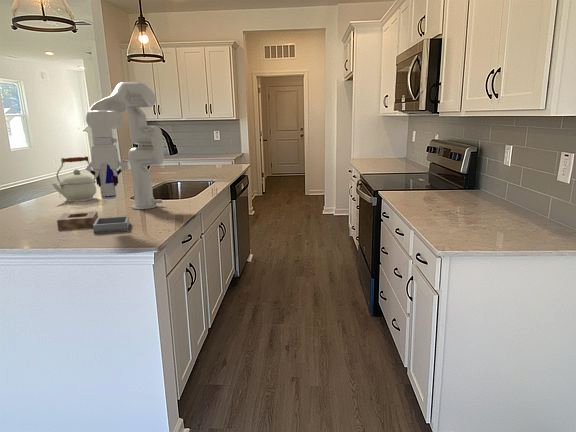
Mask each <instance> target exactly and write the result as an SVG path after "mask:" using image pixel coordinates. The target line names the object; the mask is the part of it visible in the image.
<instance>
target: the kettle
mask: <svg viewBox="0 0 576 432" xmlns="http://www.w3.org/2000/svg"><path fill="white" fill-rule="evenodd" d="M60 161H61V162H60V163H61V166H60V167H59V168H58V170H57V172H56V174H55V177H56V179H57V181H58V182H59V184H57V183H52V184H51V185H52V186H53V188H54V189H55V190H56V192H58V193H59V194H61V195H62V196H63V197H64V198H65V200H66V201H67V202H69V203H70V202H71V203H79V202H80V201H82V202H88V201H92V200H94V196H95V195H96V193H97V187H96V183H97V182H96V177H95V176H94V175H93V178H92V176H90V175H89V174H86V173H81V171H80V170H79V169H74V170H73V171H72V174H69V175H66V176H64V177H63V179H62V181H60V178H59V173H60V171H61V169H62V168H63V167H64V164H65V163H76V162H85V161H86V162H87V164H88V165H89V164H90V161H89V156H83V157H81V156H78V157H76V156H75V157H67V158H63V157H62V158H60ZM92 170H93V171H95V172H96V170H94V169H93V168H92Z"/></svg>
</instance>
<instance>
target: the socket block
mask: <svg viewBox="0 0 576 432" xmlns="http://www.w3.org/2000/svg"><path fill="white" fill-rule="evenodd" d="M97 218H99V215H98V210H93V211H77V212H76V211H75V212H64V213H62V215H60V217H58V218H57V219H56V223H57V224H56V225H57V230H65V229H66V230H67V229H78V228H80V229H81V227H82V228H93V224H94V223H95V221H96V219H97Z"/></svg>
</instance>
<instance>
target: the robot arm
mask: <svg viewBox="0 0 576 432" xmlns="http://www.w3.org/2000/svg"><path fill="white" fill-rule="evenodd" d="M155 104H156V95H155V93H154V91H153V90H152V89H151V88H150V87H149V86H148V85H147V84H146V83H144V82H141V81H122V82H119V83H117V84H116V85H115V86H114V89H113V90H112V92H111V93H110V95H109V96H107V97H104V98H102V99H100V100H98V101H96V102H95V103H93V104H91V106H90V108H89V109H88V111H87V113H86V116H85V121H86V124H87V126H88V127H89V128H90V129H91V135H92V145H91V150H90V156H91V157H90V159H91V160H90V162H89V164H88V165H87V167H85V171H88V172H89V173H90V174H91V175H92V176H93V177H94V176H95V177H96V178H95V181H96V182H95V183H96V185H97V186H98V187H99V188H101V187H100V186H101V185H100V177H99V170H100V166H101V164H108V165H109V166H110V169H112V171H113V173H114V186H115V187H117V186H118V184H119V175H120V174H121V173H122V172H123V171H124V170H125V169H126V166H125V165H124V164H123V163H122V162H121V161H120V159H119V154H118V149H117V146H116V144H115V143H117V142H118V140H117V138H113V130H117V129H120V128H122V127H123V125H124V117H123V115H122V113H124V112H126V114H127V116H128V123H129V124H128V126H129V137H130V141H131V144H135V145H142V146H143V145H147V146H149V145H151V147H147V146H145V147H144V146H143V147H142V146H140V147H132V148H131V149H129V150H128V153H127V158H128V162H129V166H130V170H131V171H130V172H131V179H132V181H131V183H132V191H133V201H134V204H132V205H131V209H134V210H149V209H154V208H156V207H157V206H158V205H157V204H163V199H161V198H160V199H159V198H158V199H155V197H154V194H153V193H154V192H153V181H152V173H151V171H150V170H149V168H147V166H149V167H156V166H161V165H163V163H164V159H165V157H164V155H165V154H164V140H163V139H164V138H163V132H162V129H161V127H159V126H158V125H157V126H156V125H148V123H147V122H148V121H147V115H146V113H145V112H144V111H143V109H142V108H152V107H154V105H155ZM119 167H120V168H119ZM93 169H94V170H96V172H95V171H94V170H93Z"/></svg>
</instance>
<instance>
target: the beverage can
mask: <svg viewBox="0 0 576 432" xmlns="http://www.w3.org/2000/svg"><path fill="white" fill-rule="evenodd" d="M99 177H100V185H101V186H100V187H99V188H100V195H101V199H103V200H113V199H116V198H117V191H116V186H114V173H113V171H112V169H110V166H109V165H108V164H101V166H100V170H99Z"/></svg>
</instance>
